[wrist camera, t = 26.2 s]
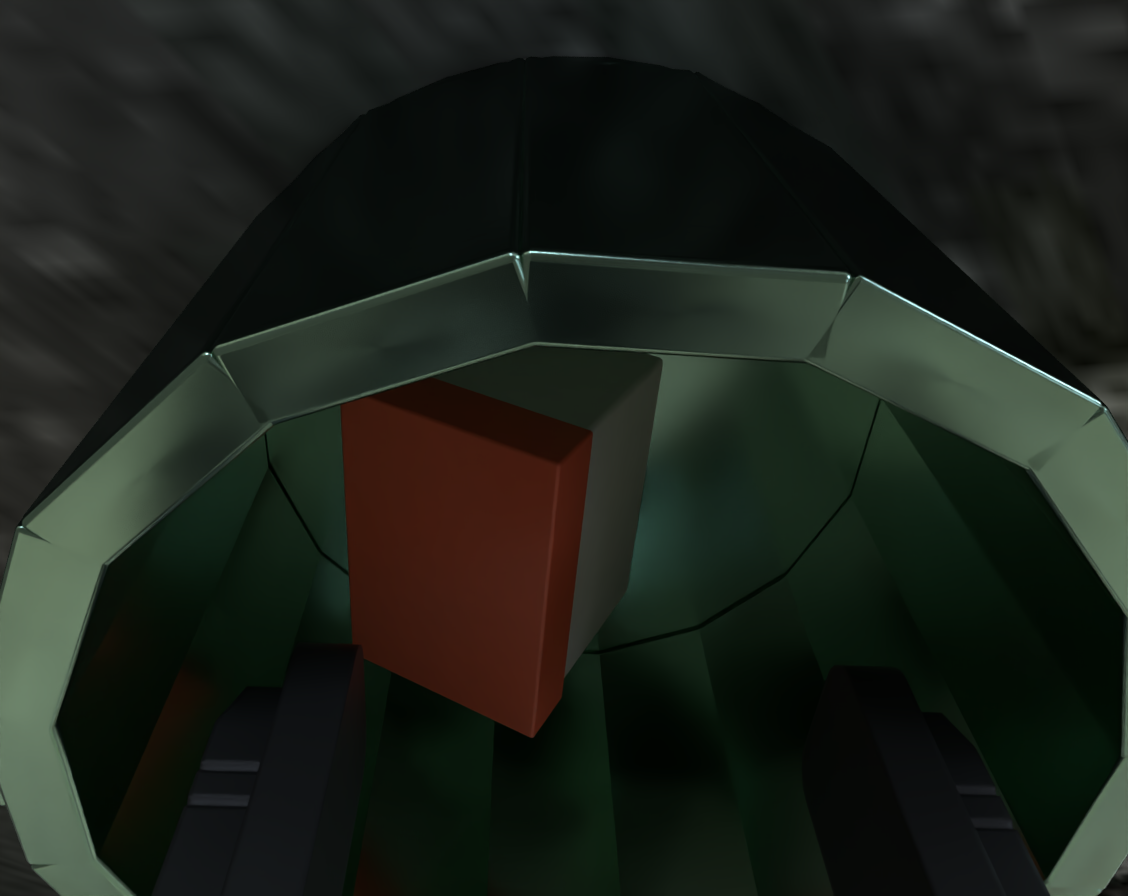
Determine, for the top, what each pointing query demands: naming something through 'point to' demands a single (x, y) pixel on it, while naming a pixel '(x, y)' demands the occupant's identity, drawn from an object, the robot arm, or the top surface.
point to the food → (496, 521)
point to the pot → (665, 524)
